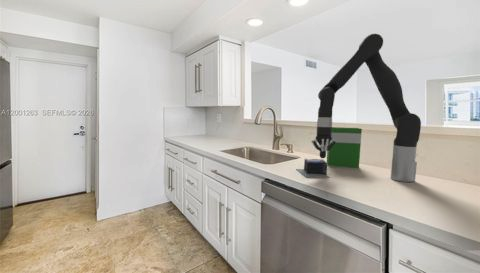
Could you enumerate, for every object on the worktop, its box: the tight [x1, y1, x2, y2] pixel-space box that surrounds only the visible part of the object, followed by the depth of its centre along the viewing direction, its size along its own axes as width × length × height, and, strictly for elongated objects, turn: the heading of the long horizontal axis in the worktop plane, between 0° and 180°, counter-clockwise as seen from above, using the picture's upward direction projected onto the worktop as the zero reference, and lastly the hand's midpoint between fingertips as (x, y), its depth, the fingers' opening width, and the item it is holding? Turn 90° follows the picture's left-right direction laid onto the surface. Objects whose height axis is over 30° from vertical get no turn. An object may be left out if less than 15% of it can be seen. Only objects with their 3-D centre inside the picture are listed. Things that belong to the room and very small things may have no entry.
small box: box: [303, 158, 328, 176], centre depth 122 cm, size 11×6×10 cm
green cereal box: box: [326, 126, 363, 169], centre depth 140 cm, size 18×7×24 cm, turn 76°
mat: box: [296, 168, 331, 179], centre depth 121 cm, size 12×16×1 cm
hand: (322, 158), depth 120 cm, fingers closed
